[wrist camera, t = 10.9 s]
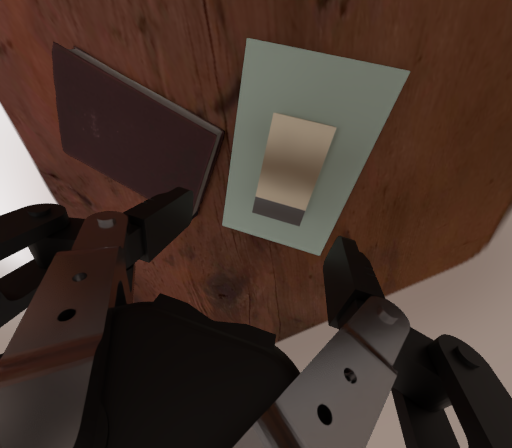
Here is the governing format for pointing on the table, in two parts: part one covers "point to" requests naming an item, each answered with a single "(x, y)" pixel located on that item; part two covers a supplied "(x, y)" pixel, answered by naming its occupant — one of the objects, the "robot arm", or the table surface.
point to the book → (131, 129)
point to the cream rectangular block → (291, 167)
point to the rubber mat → (314, 109)
